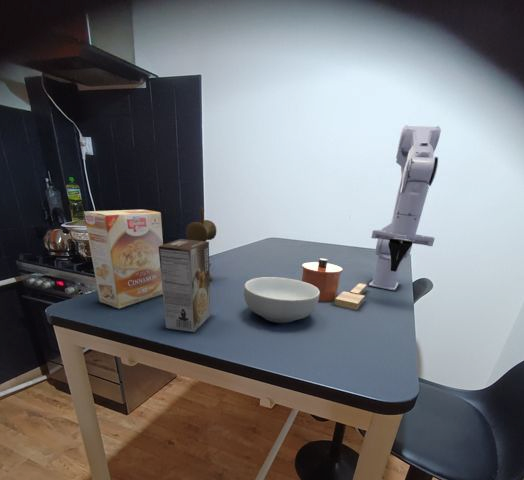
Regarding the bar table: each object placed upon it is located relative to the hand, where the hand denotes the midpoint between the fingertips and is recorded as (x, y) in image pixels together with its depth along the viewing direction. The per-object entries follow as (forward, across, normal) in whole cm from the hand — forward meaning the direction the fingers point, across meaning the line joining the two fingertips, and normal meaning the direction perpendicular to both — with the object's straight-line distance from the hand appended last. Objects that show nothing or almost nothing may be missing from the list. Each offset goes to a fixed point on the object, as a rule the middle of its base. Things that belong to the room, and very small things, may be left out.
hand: (393, 270), depth 83 cm
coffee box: (+9, -33, -43) cm, 55 cm away
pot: (+9, -17, -7) cm, 21 cm away
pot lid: (+1, -17, -7) cm, 19 cm away
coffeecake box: (+9, -53, -39) cm, 66 cm away
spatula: (+9, -8, -3) cm, 12 cm away
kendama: (+9, -50, -16) cm, 53 cm away
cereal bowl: (+9, -19, -28) cm, 35 cm away
